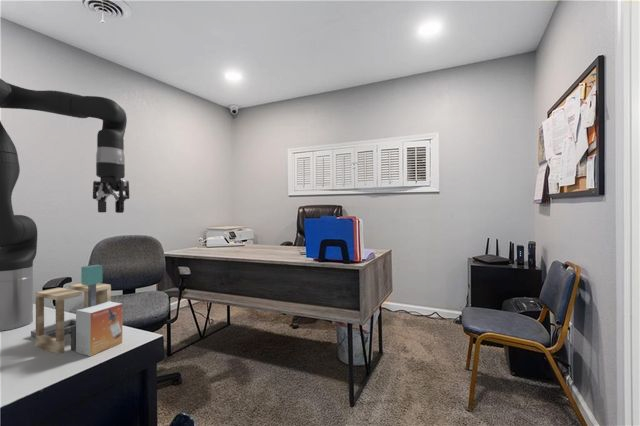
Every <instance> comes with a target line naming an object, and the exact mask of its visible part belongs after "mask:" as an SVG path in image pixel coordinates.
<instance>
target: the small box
mask: <svg viewBox="0 0 640 426" xmlns="http://www.w3.org/2000/svg"><path fill="white" fill-rule="evenodd" d="M123 312H124V311H123V303H121V302H114V301H111V302H110V301H108V302H105V303H102V304H99V305H95V306H92V307H88V308H85V309H84V308H82V309H81V308H80V309H77V310H76V311H75V319H76V350H75V353H76V354H80V355H85V356H88V357H91V356H94V355H96V354H98V353H100V352H103V351H105V350H107V349H111V348H113V347H116V346H118V345H121V344H122V343H123V317H124V316H123Z"/></svg>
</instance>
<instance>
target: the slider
mask: <svg viewBox="0 0 640 426" xmlns="http://www.w3.org/2000/svg"><path fill="white" fill-rule="evenodd" d="M80 273H81V274H80V276H81V277H80V280H81V281H80V283H81V285H87V286H88V307H92V306H95V305H96V284H97V283H103V265H102V264H92V265H85V266H81V268H80ZM71 351H72V352H76V325H73V326H71V333H70V352H71Z"/></svg>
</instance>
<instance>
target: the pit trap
mask: <svg viewBox="0 0 640 426" xmlns="http://www.w3.org/2000/svg"><path fill="white" fill-rule="evenodd" d="M73 325H76V318H71V319H70V318H69V319H65V320H64V336H66V335H69V334H71V326H73ZM44 335H48V336H51V337H55V338H56V323H53V324H50V325H46V326H44ZM30 337H31V338H34V339H36V329H33V330H31V331H30Z"/></svg>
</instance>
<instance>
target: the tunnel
mask: <svg viewBox="0 0 640 426" xmlns="http://www.w3.org/2000/svg"><path fill="white" fill-rule="evenodd" d="M83 292H84V293H83ZM82 293H83V294H84V296H83V298H84V300H83V301H84V303H83V305H84V306H83V309H85V308H88V286H87V285H81V282H77V283H73V284H70V285H68V288H64V287H55V288H49V289H45V290H44V289H43V290H39V291H35V330H36V338H35V348H39V349H42V350H45V351H48V352H51V353H54V354H58V355H60V354H63V353H65V335H64V321H65V300H68V299H72V298H76V297H77V298H78V297H80V296H82V295H83V294H82ZM45 299H49V300H53V301H55V324H56V338H55V337H51V336H48V335H44V327H45ZM108 301H110V302H112V286H111V284H108V283H103V282H102V283H97V284H96V305H99V304H102V303H105V302H108Z"/></svg>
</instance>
